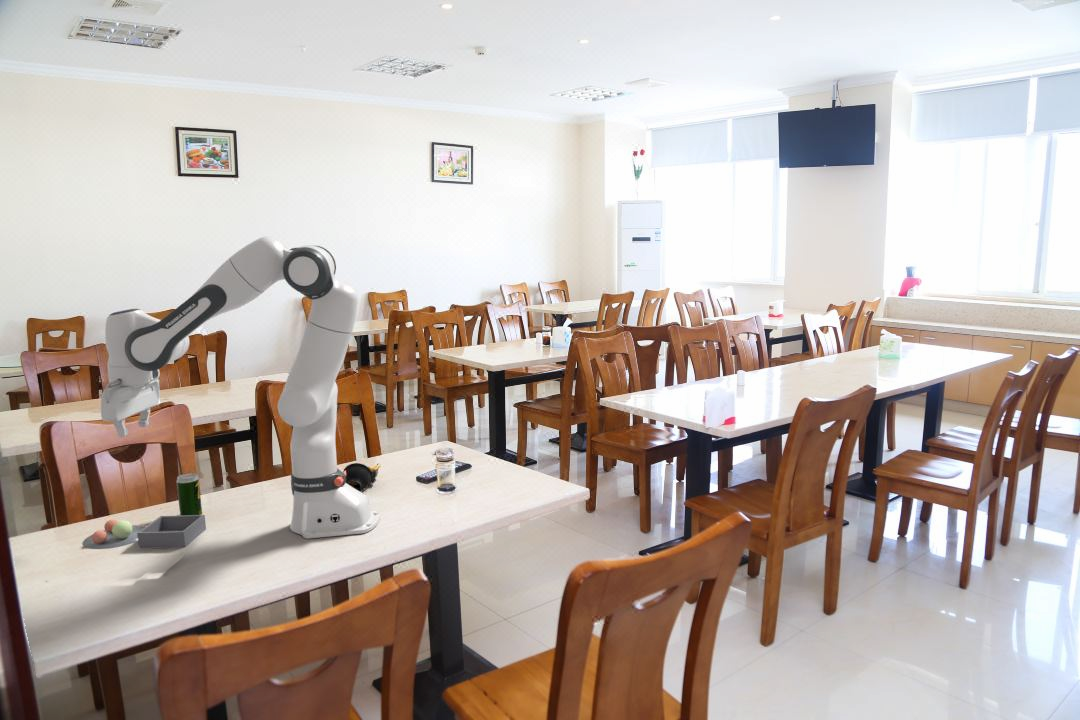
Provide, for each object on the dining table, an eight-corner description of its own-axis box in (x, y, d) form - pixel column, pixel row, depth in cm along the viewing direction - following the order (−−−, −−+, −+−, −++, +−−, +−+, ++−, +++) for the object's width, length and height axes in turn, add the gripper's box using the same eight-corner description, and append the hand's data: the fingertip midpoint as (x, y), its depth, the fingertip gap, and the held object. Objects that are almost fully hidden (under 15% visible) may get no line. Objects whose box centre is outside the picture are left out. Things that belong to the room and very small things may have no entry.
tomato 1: (110, 540, 186) (108, 528, 186) (103, 545, 183) (101, 533, 182) (97, 540, 186) (96, 528, 186) (89, 546, 183) (88, 533, 182)
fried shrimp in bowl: (332, 481, 217) (346, 445, 232) (352, 508, 221) (364, 471, 237) (360, 470, 215) (372, 434, 231) (380, 498, 220) (390, 461, 235)
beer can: (182, 524, 199) (177, 480, 197) (179, 518, 203) (174, 475, 201) (204, 520, 202) (199, 476, 200) (200, 514, 206) (196, 471, 204)
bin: (206, 533, 192) (204, 514, 191) (185, 551, 181) (183, 532, 180) (162, 534, 192) (160, 515, 191) (139, 552, 181) (137, 533, 180)
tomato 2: (122, 529, 193) (120, 517, 192) (115, 534, 190) (113, 522, 189) (109, 529, 193) (108, 518, 192) (102, 534, 190) (100, 522, 189)
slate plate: (162, 528, 196) (162, 524, 196) (131, 552, 181) (131, 548, 181) (105, 530, 196) (104, 525, 196) (69, 554, 181) (69, 549, 181)
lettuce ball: (136, 534, 190) (134, 517, 189) (127, 541, 185) (125, 524, 185) (119, 534, 190) (117, 518, 189) (109, 541, 185) (107, 524, 185)
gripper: (118, 384, 173) (122, 442, 175) (163, 368, 193) (166, 421, 196) (90, 383, 173) (95, 442, 175) (138, 368, 193) (142, 421, 196)
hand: (133, 431), depth 186 cm, fingers open, 8 cm apart
